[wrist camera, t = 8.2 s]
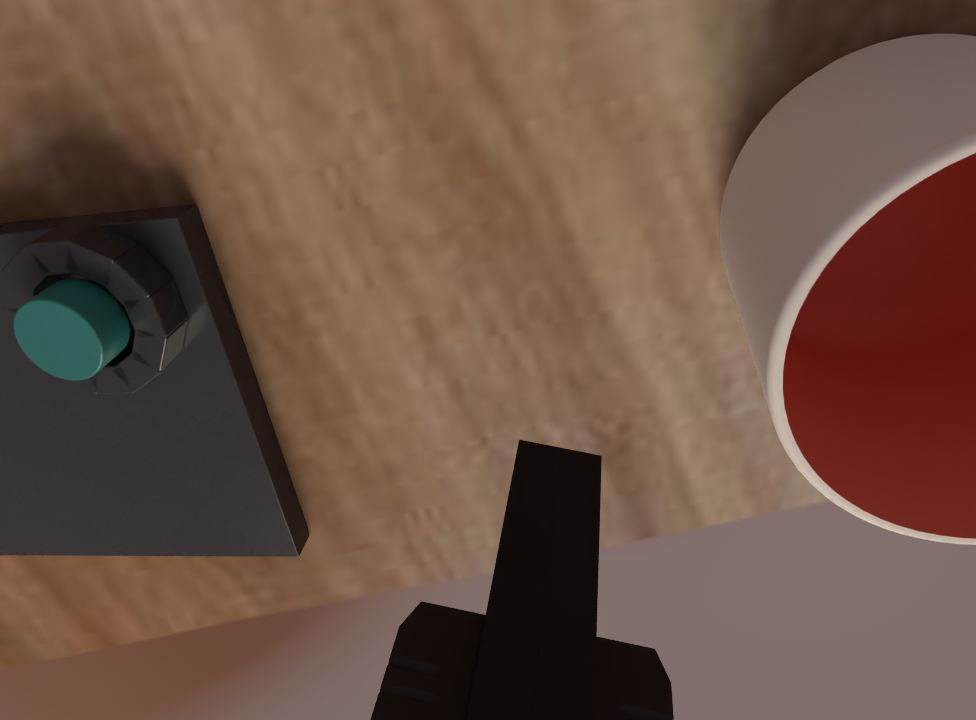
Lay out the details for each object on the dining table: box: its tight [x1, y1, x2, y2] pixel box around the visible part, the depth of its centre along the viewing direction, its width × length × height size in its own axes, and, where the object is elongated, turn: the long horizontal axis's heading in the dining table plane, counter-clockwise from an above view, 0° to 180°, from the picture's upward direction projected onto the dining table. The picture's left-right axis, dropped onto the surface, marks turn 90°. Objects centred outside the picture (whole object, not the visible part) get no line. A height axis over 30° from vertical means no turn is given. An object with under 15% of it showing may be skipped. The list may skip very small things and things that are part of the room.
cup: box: [719, 34, 976, 545], centre depth 19 cm, size 10×10×10 cm
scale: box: [0, 205, 309, 556], centre depth 31 cm, size 16×16×3 cm
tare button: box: [13, 279, 130, 380], centre depth 26 cm, size 3×3×2 cm
